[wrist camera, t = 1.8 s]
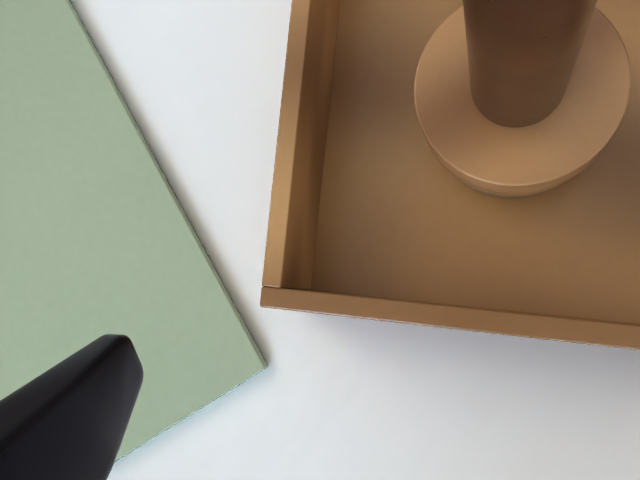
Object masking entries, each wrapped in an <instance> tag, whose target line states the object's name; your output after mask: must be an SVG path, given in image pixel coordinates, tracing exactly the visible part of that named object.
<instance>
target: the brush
mask: <svg viewBox="0 0 640 480" xmlns="http://www.w3.org/2000/svg"><path fill="white" fill-rule="evenodd" d="M596 3H597V0H463V6H461V7H460V8H459V9H457V10H456V11H455V12H454V13H452V14H451V15H450V16H449V17H448V18H447V19H446V20H445V21H444V22H443V23H442V24H441V25H440V26H439V27H438V29H437V30H436V31H435V32H434V34H433V35H432V36H431V38H430V40H429V41H428V43H427V45H426V46H425V48H424V51H423V53H422V55H421V57H420V60H419V63H418V66H417V70H416V75H415V81H414V103H415V110H416V114H417V118H418V122H419V124H420V127H421V129H422V132H423V134H424V137H425V139H426V142H427V144H428V146H429V147H430V149H431V151H432V153H433V154H434V155H435V157H436V158H437V159H438V161H439V162H440V163H441V164H442V165H443V166H444V167H445V168H446V169H447V170H448V171H449V172H450V173H451V174H452V175H453V176H454V177H455V178H456V179H458V180H459V181H460V182H462V183H463V184H464V185H466V186H468V187H470V188H471V189H473V190H475V191H478V192H480V193H483V194H486V195H490V196H494V197H500V198H524V197H531V196H535V195H539V194H542V193H544V192H547V191H550V190H552V189H554V188H556V187H558V186H559V185H561V184H563V183H564V182H566V181H567V180H569V179H571V178H573V177H574V176H576V175H577V174H578V173H580V172H581V171H583V170H584V169H585V168H586V167H587V166H588V165H589V164H591V163H592V162H593V161H594V160H595V158H596V157H597V156H598V155H599V154H600V153H601V151H602V150H603V149H604V147H605V146H606V145H607V143H608V142H609V141H610V139H611V138H612V136H613V135H614V133H615V132H616V130H617V128H618V127H619V125H620V123H621V121H622V118H623V116H624V114H625V111H626V108H627V104H628V101H629V96H630V89H631V69H630V63H629V57H628V54H627V51H626V48H625V45H624V43H623V41H622V39H621V37H620V35H619V33H618V31H617V30H616V29H615V27H614V26H613V24H612V23H611V22H610V20H609V19H608V18H607V17H606V16H605V15H604V14H603V13H602V12H601V11H600V10H598V9H597V8H596V7H595V6H596Z"/></svg>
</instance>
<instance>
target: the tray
mask: <svg viewBox="0 0 640 480" xmlns="http://www.w3.org/2000/svg"><path fill="white" fill-rule="evenodd" d="M461 6H463V0H292V6H291V16H290V25H289V34H288V44H287V53H286V63H285V72H284V81H283V91H282V100H281V110H280V119H279V128H278V138H277V147H276V157H275V166H274V175H273V185H272V194H271V204H270V213H269V223H268V232H267V241H266V251H265V260H264V270H263V279H262V286H264V287H262V291H261V300H260V306H261V307H266V308H274V309H283V310H292V311H301V312H310V313H318V314H327V315H336V316H345V317H353V318H362V319H371V320H380V321H389V322H397V323H406V324H415V325H424V326H433V327H441V328H450V329H459V330H468V331H476V332H485V333H494V334H503V335H512V336H520V337H529V338H538V339H547V340H555V341H564V342H573V343H582V344H591V345H599V346H608V347H617V348H626V349H634V350H640V0H597V3H596V6H595V7H596V8H597V9H598V10H600V11H601V12H602V13H603V14H604V15H605V16H606V17H607V18H608V19H609V20H610V22H611V23H612V24H613V26H614V27H615V29H616V30H617V31H618V33H619V35H620V37H621V39H622V41H623V43H624V45H625V48H626V51H627V54H628V57H629V63H630V69H631V89H630V96H629V101H628V104H627V108H626V111H625V114H624V116H623V118H622V121H621V123H620V125H619V127H618V128H617V130H616V132H615V133H614V135H613V136H612V138H611V139H610V141H609V142H608V143H607V145H606V146H605V147H604V149H603V150H602V151H601V153H600V154H599V155H598V156H597V157H596V158H595V160H594V161H593V162H592V163H591V164H589V165H588V166H587V167H586V168H585V169H584V170H583V171H581V172H580V173H578V174H577V175H576V176H574V177H573V178H571V179H569V180H567V181H566V182H564V183H563V184H561V185H559V186H558V187H556V188H554V189H552V190H550V191H547V192H544V193H542V194H539V195H535V196H531V197H524V198H500V197H494V196H490V195H486V194H483V193H480V192H478V191H475V190H473V189H471V188H470V187H468V186H466V185H464V184H463V183H462V182H460V181H459V180H458V179H456V178H455V177H454V176H453V175H452V174H451V173H450V172H449V171H448V170H447V169H446V168H445V167H444V166H443V165H442V164H441V163H440V162H439V161H438V159H437V158H436V157H435V155H434V154H433V153H432V151H431V149H430V147H429V146H428V144H427V142H426V139H425V137H424V134H423V132H422V129H421V127H420V124H419V122H418V118H417V114H416V110H415V103H414V81H415V75H416V70H417V66H418V63H419V60H420V57H421V55H422V53H423V51H424V48H425V46H426V45H427V43H428V41H429V40H430V38H431V36H432V35H433V34H434V32H435V31H436V30H437V29H438V27H439V26H440V25H441V24H442V23H443V22H444V21H445V20H446V19H447V18H448V17H449V16H450V15H451V14H452V13H454V12H455V11H456V10H457V9H459V8H460V7H461Z"/></svg>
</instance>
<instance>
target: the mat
mask: <svg viewBox="0 0 640 480" xmlns="http://www.w3.org/2000/svg"><path fill="white" fill-rule="evenodd" d="M105 334H121V335H126V336H128V337H129V338H130V339H131V341H132V343H133V345H134V348H135V350H136V352H137V355H138V357H139V360H140V362H141V364H142V367H143V372H144V377H143V382H142V386H141V388H140V391H139V394H138V397H137V400H136V403H135V406H134V409H133V411H132V414H131V417H130V420H129V423H128V426H127V429H126V432H125V434H124V437H123V440H122V443H121V446H120V449H119V451H118V454H117V456H116V459H115V461H117V460H118V459H120V458H121V457H123V456H125V455H126V454H128V453H129V452H131V451H133V450H134V449H136V448H138V447H139V446H141V445H142V444H144V443H146V442H147V441H149V440H151V439H152V438H154V437H155V436H157V435H159V434H160V433H162V432H163V431H165V430H167V429H168V428H170V427H172V426H173V425H175V424H176V423H178V422H180V421H181V420H183V419H185V418H186V417H188V416H189V415H191V414H193V413H194V412H196V411H197V410H199V409H201V408H202V407H204V406H206V405H207V404H209V403H210V402H212V401H214V400H215V399H217V398H219V397H220V396H222V395H223V394H225V393H227V392H228V391H230V390H231V389H233V388H235V387H236V386H238V385H240V384H241V383H243V382H244V381H246V380H248V379H249V378H251V377H253V376H254V375H256V374H257V373H259V372H261V371H262V370H264V369H266V368H267V364H266V363H265V361H264V359H263V357H262V355H261V353H260V351H259V350H258V348H257V346H256V344H255V342H254V340H253V338H252V337H251V335H250V333H249V331H248V329H247V327H246V326H245V324H244V322H243V320H242V318H241V316H240V314H239V313H238V311H237V309H236V307H235V305H234V303H233V301H232V300H231V298H230V296H229V294H228V292H227V290H226V288H225V287H224V285H223V283H222V281H221V279H220V277H219V276H218V274H217V272H216V270H215V268H214V266H213V264H212V263H211V261H210V259H209V257H208V255H207V253H206V251H205V250H204V248H203V246H202V244H201V242H200V240H199V239H198V237H197V235H196V233H195V231H194V229H193V227H192V226H191V224H190V222H189V220H188V218H187V216H186V214H185V213H184V211H183V209H182V207H181V205H180V203H179V201H178V200H177V198H176V196H175V194H174V192H173V190H172V189H171V187H170V185H169V183H168V181H167V179H166V177H165V176H164V174H163V172H162V170H161V168H160V166H159V164H158V163H157V161H156V159H155V157H154V155H153V153H152V152H151V150H150V148H149V146H148V144H147V142H146V140H145V139H144V137H143V135H142V133H141V131H140V129H139V127H138V126H137V124H136V122H135V120H134V118H133V116H132V114H131V113H130V111H129V109H128V107H127V105H126V103H125V102H124V100H123V98H122V96H121V94H120V92H119V90H118V89H117V87H116V85H115V83H114V81H113V79H112V77H111V76H110V74H109V72H108V70H107V68H106V66H105V65H104V63H103V61H102V59H101V57H100V55H99V53H98V52H97V50H96V48H95V46H94V44H93V42H92V40H91V39H90V37H89V35H88V33H87V31H86V29H85V27H84V26H83V24H82V22H81V20H80V18H79V16H78V15H77V13H76V11H75V9H74V7H73V5H72V3H71V2H70V0H0V400H2V399H3V398H5V397H7V396H8V395H10V394H11V393H13V392H14V391H16V390H17V389H19V388H21V387H22V386H24V385H25V384H27V383H28V382H30V381H32V380H33V379H35V378H36V377H38V376H39V375H41V374H43V373H44V372H46V371H47V370H49V369H50V368H52V367H54V366H55V365H57V364H58V363H60V362H61V361H63V360H65V359H66V358H68V357H69V356H71V355H72V354H74V353H76V352H77V351H79V350H80V349H82V348H83V347H85V346H86V345H88V344H90V343H91V342H93V341H94V340H96V339H97V338H99V337H101V336H102V335H105Z"/></svg>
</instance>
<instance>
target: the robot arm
mask: <svg viewBox="0 0 640 480" xmlns="http://www.w3.org/2000/svg"><path fill="white" fill-rule="evenodd" d="M143 377H144V372H143V367H142V364H141V362H140V360H139V357H138V355H137V352H136V350H135V348H134V345H133V343H132V341H131V339H130V338H129V337H128V336H126V335H121V334H105V335H102V336H101V337H99V338H97V339H96V340H94V341H93V342H91V343H90V344H88V345H86V346H85V347H83V348H82V349H80V350H79V351H77V352H76V353H74V354H72V355H71V356H69V357H68V358H66V359H65V360H63V361H61V362H60V363H58V364H57V365H55V366H54V367H52V368H50V369H49V370H47V371H46V372H44V373H43V374H41V375H39V376H38V377H36V378H35V379H33V380H32V381H30V382H28V383H27V384H25V385H24V386H22V387H21V388H19V389H17V390H16V391H14V392H13V393H11V394H10V395H8V396H7V397H5V398H3V399H2V400H0V480H107V478H108V475H109V473H110V471H111V469H112V466H113V464H114V462H115V459H116V456H117V454H118V451H119V449H120V446H121V443H122V440H123V437H124V434H125V432H126V429H127V426H128V423H129V420H130V417H131V414H132V411H133V409H134V406H135V403H136V400H137V397H138V394H139V391H140V388H141V386H142V382H143Z"/></svg>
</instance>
